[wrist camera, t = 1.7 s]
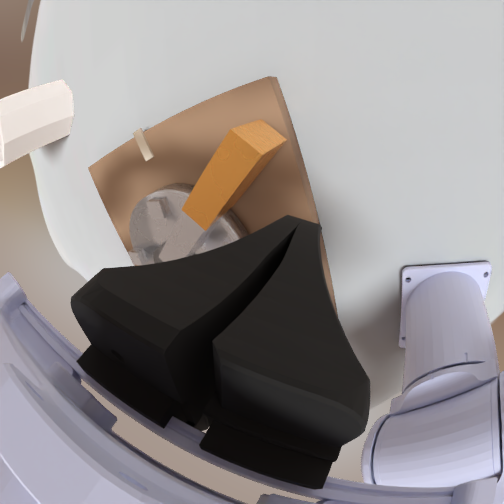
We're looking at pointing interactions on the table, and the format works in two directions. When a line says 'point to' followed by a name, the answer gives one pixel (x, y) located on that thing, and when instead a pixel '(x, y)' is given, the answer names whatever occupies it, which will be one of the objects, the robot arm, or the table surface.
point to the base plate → (199, 155)
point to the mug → (34, 119)
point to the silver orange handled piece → (203, 200)
